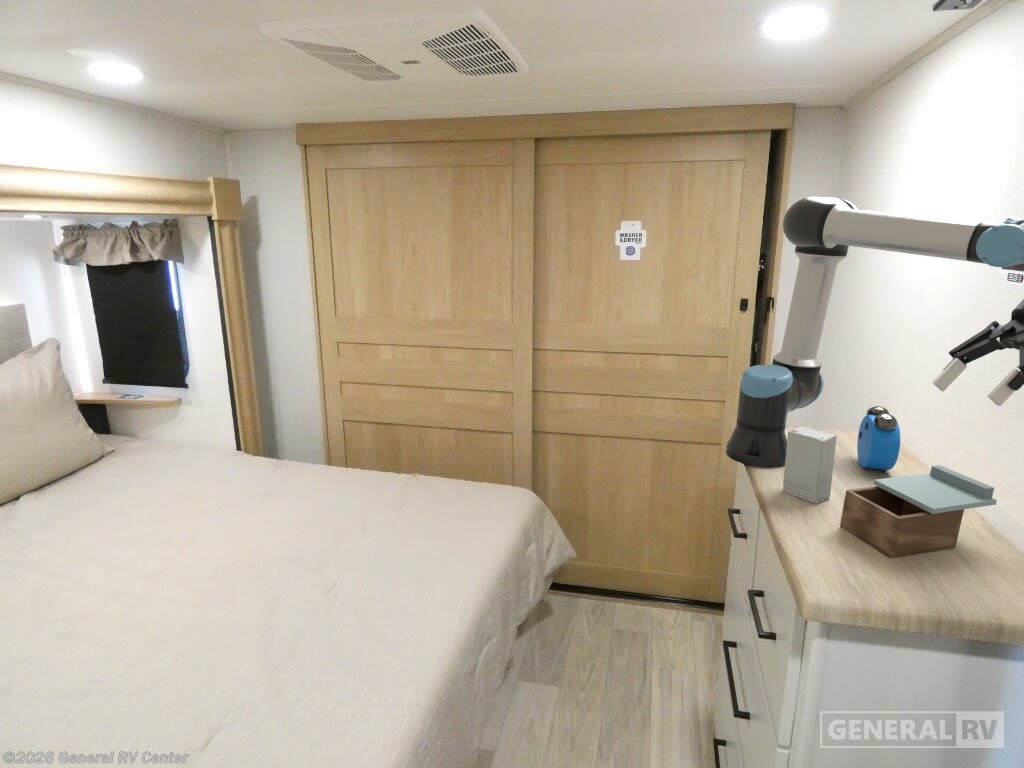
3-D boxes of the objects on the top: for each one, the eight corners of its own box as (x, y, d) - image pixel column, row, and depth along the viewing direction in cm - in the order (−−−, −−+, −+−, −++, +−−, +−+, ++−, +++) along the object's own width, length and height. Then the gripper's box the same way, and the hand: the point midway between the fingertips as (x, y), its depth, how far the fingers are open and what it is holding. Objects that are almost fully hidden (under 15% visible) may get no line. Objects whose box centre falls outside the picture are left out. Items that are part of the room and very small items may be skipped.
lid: (873, 484, 119) (876, 470, 118) (932, 476, 122) (935, 463, 122) (932, 513, 107) (935, 498, 106) (995, 504, 110) (999, 489, 110)
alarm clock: (894, 479, 141) (906, 419, 137) (865, 476, 143) (876, 417, 139) (879, 459, 153) (889, 403, 149) (852, 456, 155) (862, 401, 151)
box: (839, 526, 119) (846, 490, 117) (899, 518, 122) (906, 482, 120) (890, 558, 107) (898, 518, 105) (955, 548, 111) (964, 509, 109)
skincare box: (830, 498, 131) (840, 435, 127) (814, 505, 128) (824, 440, 124) (794, 485, 138) (803, 424, 134) (779, 491, 134) (787, 429, 130)
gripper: (1129, 326, 99) (1035, 421, 102) (1003, 316, 124) (929, 393, 126) (1101, 297, 98) (1006, 394, 101) (979, 292, 123) (906, 371, 125)
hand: (963, 393), depth 114 cm, fingers open, 13 cm apart
